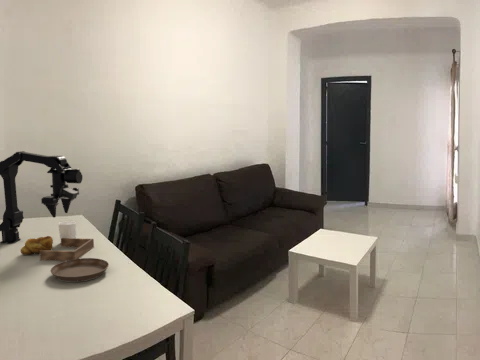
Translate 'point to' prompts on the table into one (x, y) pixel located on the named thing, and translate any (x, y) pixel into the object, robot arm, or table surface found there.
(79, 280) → the plant saucer
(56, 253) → the box
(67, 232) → the white cup
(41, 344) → the table surface
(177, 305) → the table surface
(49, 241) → the bread roll
